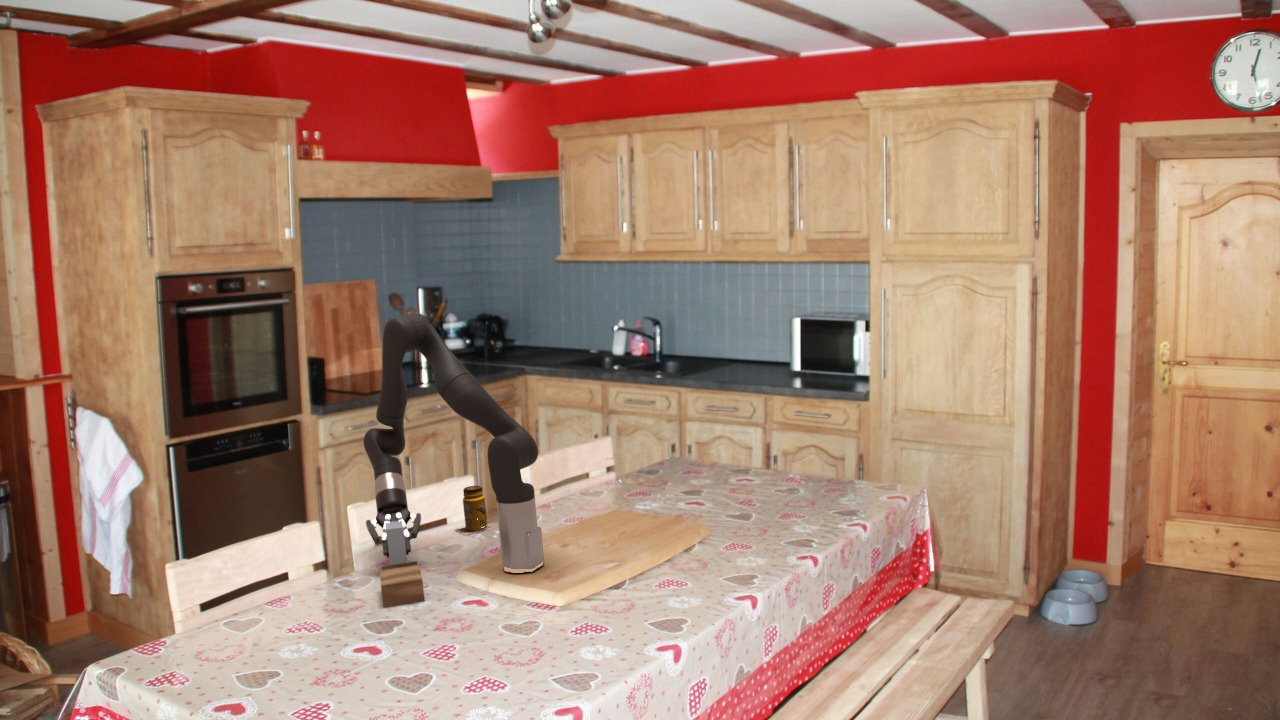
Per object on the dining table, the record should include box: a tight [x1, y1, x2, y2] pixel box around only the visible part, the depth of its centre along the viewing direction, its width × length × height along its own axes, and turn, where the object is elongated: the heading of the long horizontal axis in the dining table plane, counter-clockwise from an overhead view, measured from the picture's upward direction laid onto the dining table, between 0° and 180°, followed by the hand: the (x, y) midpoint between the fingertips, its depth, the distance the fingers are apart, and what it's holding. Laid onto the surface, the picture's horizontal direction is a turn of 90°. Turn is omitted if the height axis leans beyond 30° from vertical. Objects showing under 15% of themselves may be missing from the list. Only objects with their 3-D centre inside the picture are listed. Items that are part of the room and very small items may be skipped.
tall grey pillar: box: [386, 521, 408, 565], centre depth 255 cm, size 7×4×12 cm, turn 15°
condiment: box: [454, 485, 494, 536], centre depth 290 cm, size 7×8×12 cm
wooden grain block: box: [379, 560, 425, 608], centre depth 242 cm, size 20×9×6 cm, turn 15°
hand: (397, 554), depth 253 cm, fingers closed on tall grey pillar, 4 cm apart
